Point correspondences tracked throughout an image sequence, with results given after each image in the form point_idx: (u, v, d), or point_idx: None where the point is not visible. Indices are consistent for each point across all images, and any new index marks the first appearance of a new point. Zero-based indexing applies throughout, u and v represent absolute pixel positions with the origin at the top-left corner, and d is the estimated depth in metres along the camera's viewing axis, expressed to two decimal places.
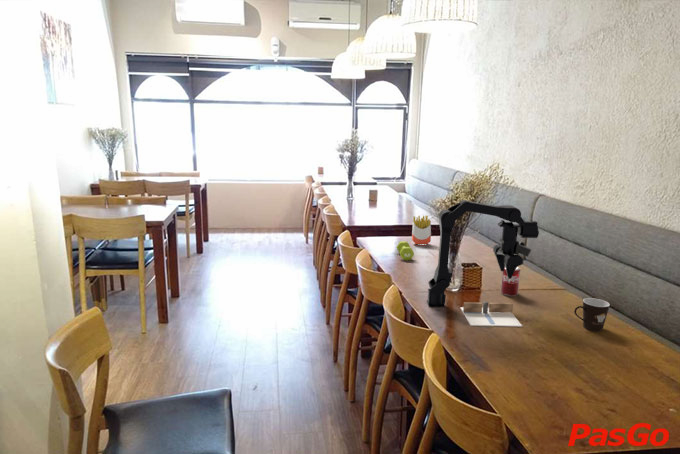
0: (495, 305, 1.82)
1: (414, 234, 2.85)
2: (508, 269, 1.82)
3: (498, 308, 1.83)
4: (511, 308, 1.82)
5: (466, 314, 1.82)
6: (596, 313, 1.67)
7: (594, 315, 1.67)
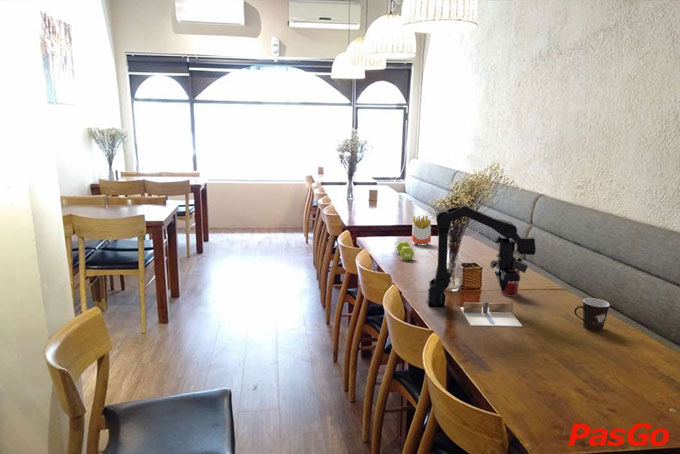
0: (495, 305, 1.82)
1: (414, 234, 2.85)
2: (501, 282, 1.84)
3: (498, 308, 1.83)
4: (511, 308, 1.82)
5: (466, 314, 1.82)
6: (596, 313, 1.67)
7: (594, 315, 1.67)
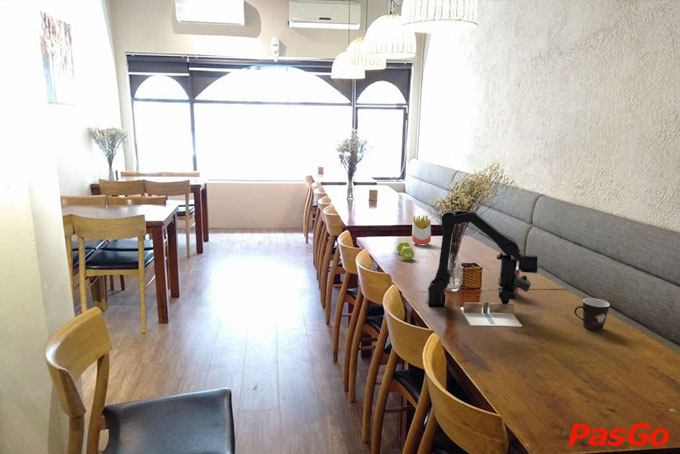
0: (495, 305, 1.82)
1: (414, 234, 2.85)
2: (502, 299, 1.82)
3: (498, 309, 1.82)
4: (512, 309, 1.81)
5: (466, 314, 1.82)
6: (596, 313, 1.67)
7: (594, 315, 1.67)
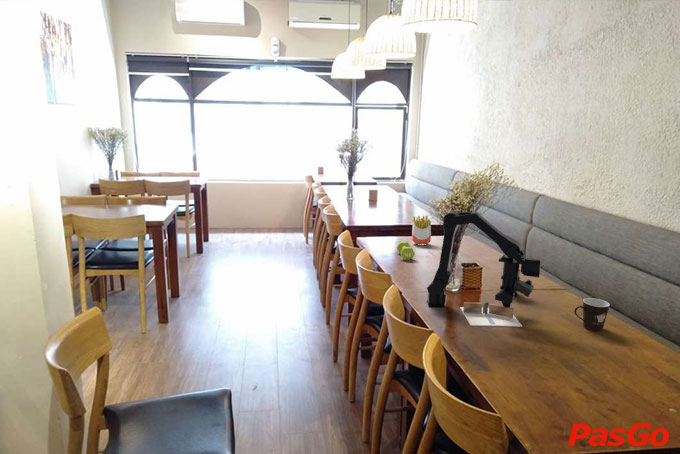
0: (494, 307, 1.81)
1: (414, 234, 2.85)
2: (503, 302, 1.79)
3: (497, 310, 1.80)
4: (511, 313, 1.78)
5: (466, 314, 1.82)
6: (596, 313, 1.67)
7: (594, 315, 1.67)
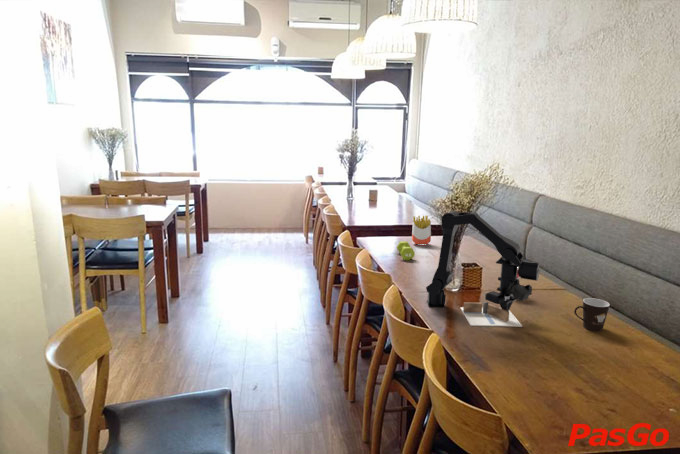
0: (492, 308, 1.80)
1: (414, 234, 2.85)
2: (500, 304, 1.77)
3: (495, 312, 1.79)
4: (506, 316, 1.75)
5: (466, 314, 1.82)
6: (596, 313, 1.67)
7: (594, 315, 1.67)
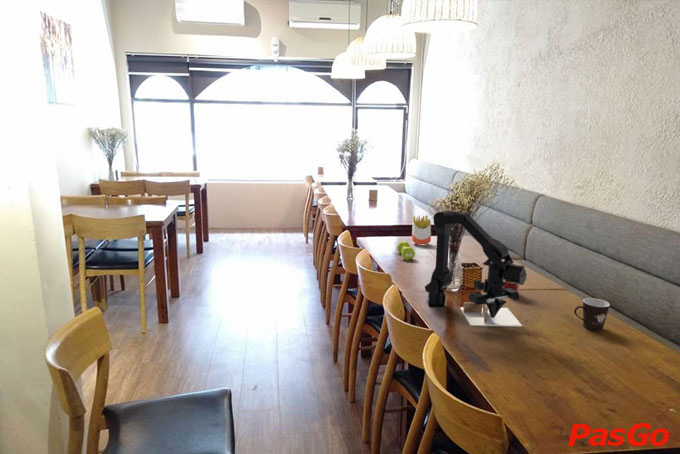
0: (484, 308, 1.80)
1: (414, 234, 2.85)
2: None
3: None
4: (484, 317, 1.74)
5: (466, 314, 1.82)
6: (596, 313, 1.67)
7: (594, 315, 1.67)
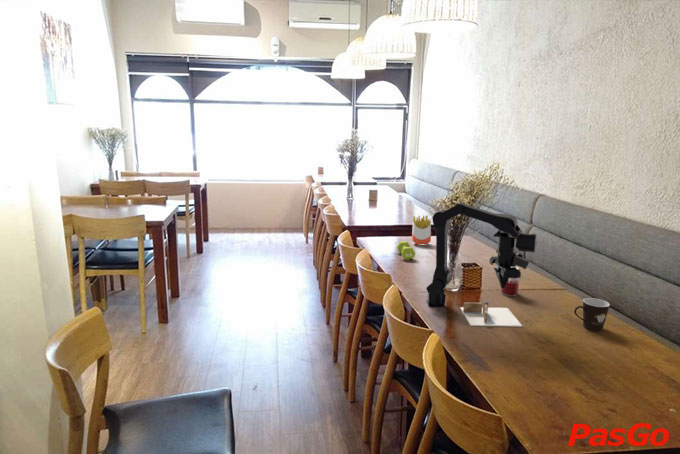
0: (484, 308, 1.80)
1: (414, 234, 2.85)
2: (501, 279, 1.76)
3: None
4: (484, 317, 1.74)
5: (466, 314, 1.82)
6: (596, 313, 1.67)
7: (594, 315, 1.67)
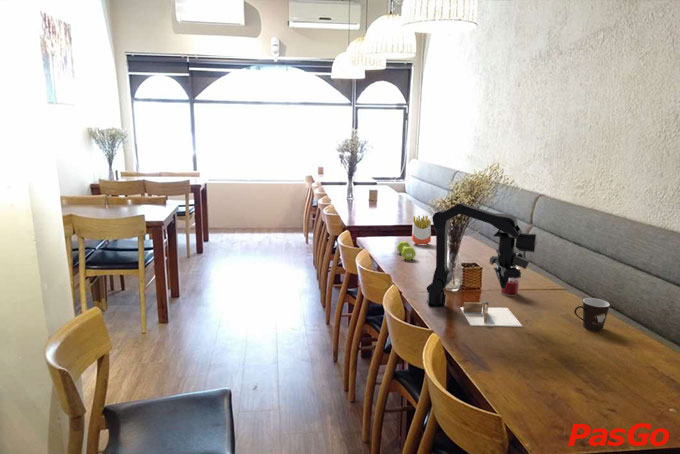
0: (484, 308, 1.80)
1: (414, 234, 2.85)
2: (501, 278, 1.76)
3: None
4: (484, 317, 1.74)
5: (466, 314, 1.82)
6: (596, 313, 1.67)
7: (594, 315, 1.67)
